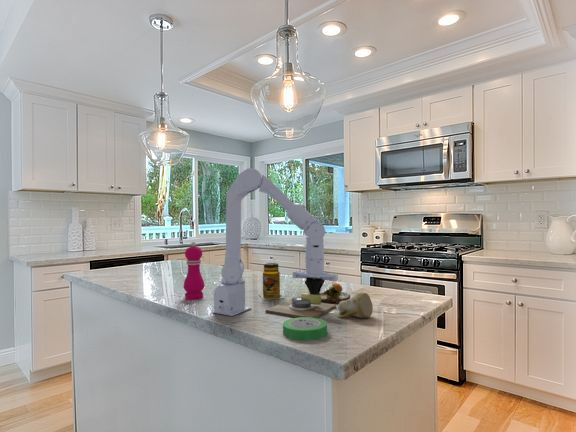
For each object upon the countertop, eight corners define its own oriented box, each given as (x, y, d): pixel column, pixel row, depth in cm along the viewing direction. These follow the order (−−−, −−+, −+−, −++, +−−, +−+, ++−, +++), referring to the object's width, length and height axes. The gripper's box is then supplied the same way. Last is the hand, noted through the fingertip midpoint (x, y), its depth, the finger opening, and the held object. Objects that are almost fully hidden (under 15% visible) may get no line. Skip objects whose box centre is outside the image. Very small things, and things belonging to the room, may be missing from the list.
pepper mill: (199, 300, 127) (198, 242, 126) (179, 300, 128) (179, 242, 128) (207, 296, 134) (207, 241, 134) (189, 295, 135) (188, 240, 135)
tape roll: (274, 335, 91) (274, 325, 91) (297, 324, 101) (297, 314, 100) (313, 344, 85) (312, 333, 85) (334, 331, 94) (334, 321, 94)
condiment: (264, 300, 127) (263, 265, 127) (258, 295, 135) (258, 262, 135) (284, 298, 129) (284, 264, 129) (277, 293, 137) (277, 261, 137)
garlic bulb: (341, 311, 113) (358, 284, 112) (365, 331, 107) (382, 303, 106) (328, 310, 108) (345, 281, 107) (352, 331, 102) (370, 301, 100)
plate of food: (325, 295, 135) (324, 274, 135) (355, 298, 129) (355, 277, 129) (309, 302, 125) (309, 280, 125) (342, 306, 119) (342, 283, 119)
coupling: (290, 307, 112) (290, 295, 112) (293, 302, 117) (293, 291, 117) (319, 308, 110) (319, 296, 110) (321, 303, 116) (321, 292, 116)
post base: (312, 320, 103) (312, 316, 103) (265, 312, 111) (265, 308, 111) (335, 307, 117) (335, 303, 117) (292, 301, 125) (292, 297, 125)
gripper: (288, 259, 115) (288, 302, 115) (332, 261, 109) (332, 307, 109) (297, 256, 121) (298, 297, 122) (339, 259, 115) (340, 302, 115)
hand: (315, 302), depth 116 cm, fingers closed
